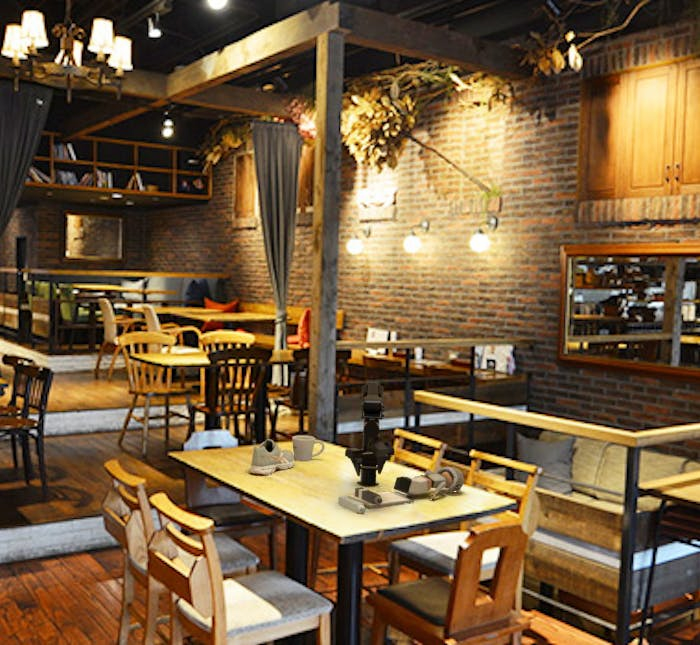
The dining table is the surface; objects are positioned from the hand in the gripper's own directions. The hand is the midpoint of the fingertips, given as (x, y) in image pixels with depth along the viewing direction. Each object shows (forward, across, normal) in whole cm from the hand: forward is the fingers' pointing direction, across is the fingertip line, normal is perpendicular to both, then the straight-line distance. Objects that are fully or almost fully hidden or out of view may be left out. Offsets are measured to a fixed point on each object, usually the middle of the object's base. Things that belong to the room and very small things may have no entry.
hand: (369, 475), depth 297 cm
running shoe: (+10, -7, +61) cm, 62 cm away
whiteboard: (+10, +6, +1) cm, 12 cm away
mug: (+10, +16, +71) cm, 74 cm away
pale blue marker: (+11, -10, -4) cm, 15 cm away
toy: (+11, +29, -1) cm, 31 cm away
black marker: (+9, 0, -1) cm, 9 cm away
